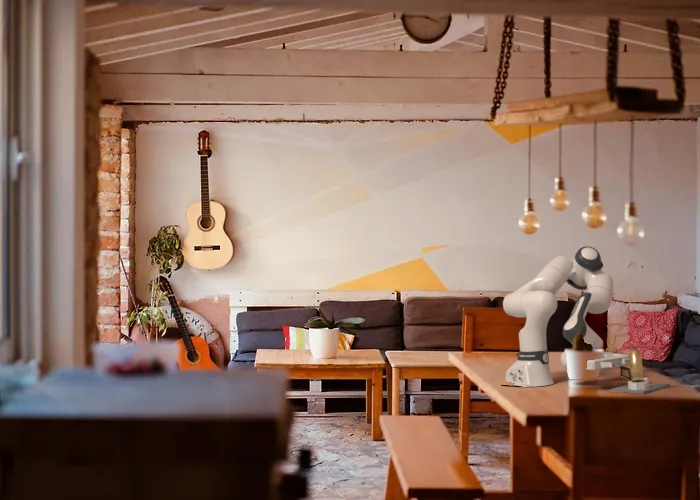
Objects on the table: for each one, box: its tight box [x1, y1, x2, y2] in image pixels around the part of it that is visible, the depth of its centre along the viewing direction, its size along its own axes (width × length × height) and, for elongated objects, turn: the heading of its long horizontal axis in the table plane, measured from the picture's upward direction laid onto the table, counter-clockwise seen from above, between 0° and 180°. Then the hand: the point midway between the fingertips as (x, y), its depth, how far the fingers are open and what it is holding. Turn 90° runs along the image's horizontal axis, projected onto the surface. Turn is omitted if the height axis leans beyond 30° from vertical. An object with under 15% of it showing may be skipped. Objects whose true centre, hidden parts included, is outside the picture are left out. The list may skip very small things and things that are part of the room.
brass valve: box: [629, 344, 648, 383], centre depth 315 cm, size 7×4×16 cm, turn 42°
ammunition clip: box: [619, 349, 632, 381], centre depth 351 cm, size 11×2×12 cm, turn 2°
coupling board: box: [608, 376, 671, 395], centre depth 320 cm, size 14×20×4 cm
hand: (622, 363), depth 321 cm, fingers open, 8 cm apart
